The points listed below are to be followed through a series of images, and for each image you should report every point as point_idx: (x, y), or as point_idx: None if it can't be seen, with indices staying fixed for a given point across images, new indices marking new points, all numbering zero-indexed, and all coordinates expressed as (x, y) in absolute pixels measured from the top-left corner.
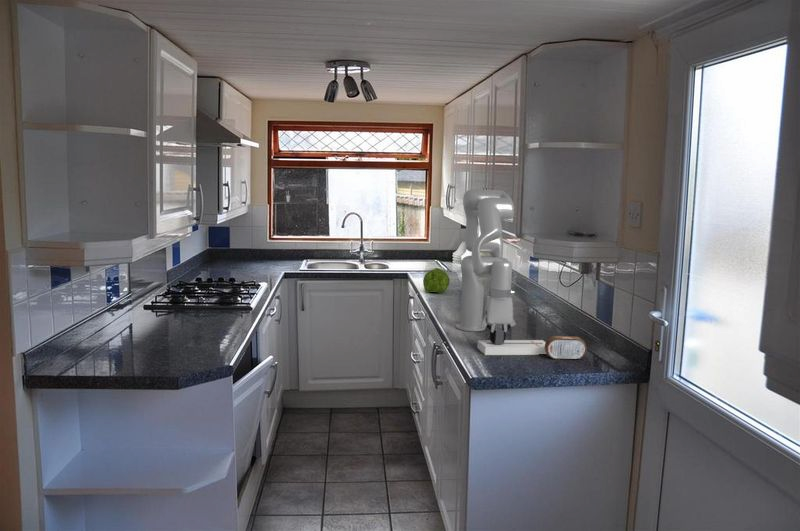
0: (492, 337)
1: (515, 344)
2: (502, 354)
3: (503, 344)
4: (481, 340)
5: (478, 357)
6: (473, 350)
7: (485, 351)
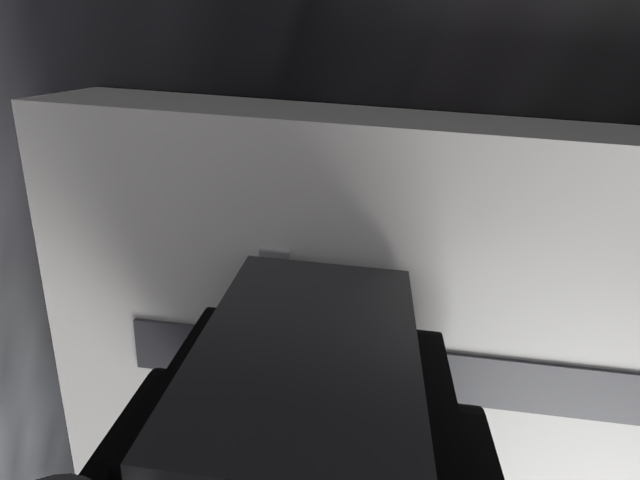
0: None
1: (629, 455)
2: None
3: None
4: (84, 124)
5: (45, 472)
6: (23, 214)
7: None
